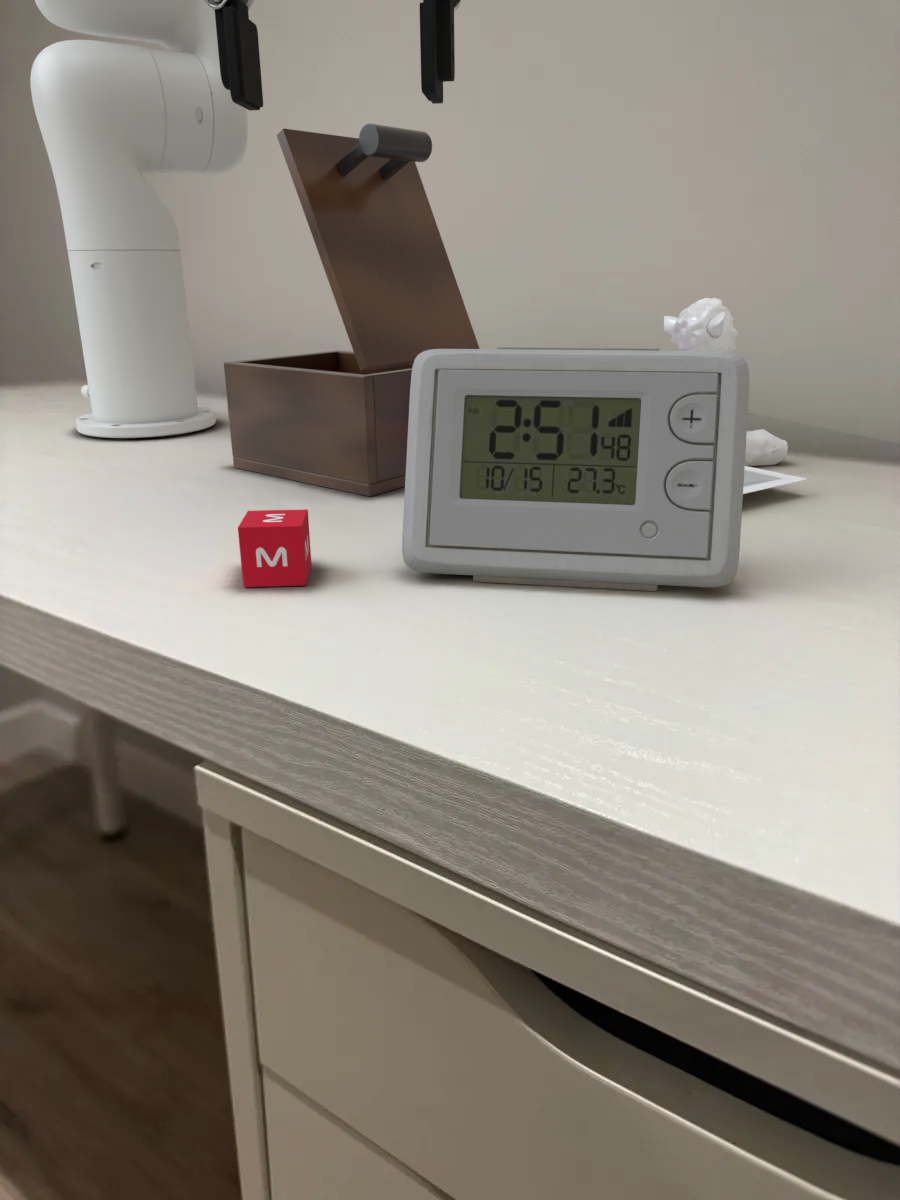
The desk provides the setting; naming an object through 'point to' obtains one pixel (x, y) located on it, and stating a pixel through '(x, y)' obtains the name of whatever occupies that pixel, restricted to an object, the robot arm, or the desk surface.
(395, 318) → the lid
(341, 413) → the chest
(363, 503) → the desk surface
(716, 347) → the seated beast figurine
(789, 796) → the desk surface
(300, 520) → the red letter cube
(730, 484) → the digital clock
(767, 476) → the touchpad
